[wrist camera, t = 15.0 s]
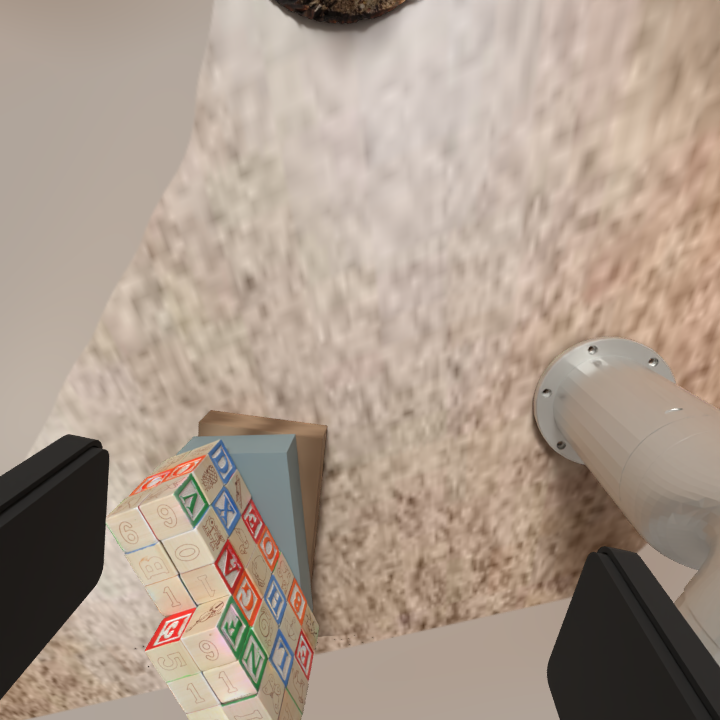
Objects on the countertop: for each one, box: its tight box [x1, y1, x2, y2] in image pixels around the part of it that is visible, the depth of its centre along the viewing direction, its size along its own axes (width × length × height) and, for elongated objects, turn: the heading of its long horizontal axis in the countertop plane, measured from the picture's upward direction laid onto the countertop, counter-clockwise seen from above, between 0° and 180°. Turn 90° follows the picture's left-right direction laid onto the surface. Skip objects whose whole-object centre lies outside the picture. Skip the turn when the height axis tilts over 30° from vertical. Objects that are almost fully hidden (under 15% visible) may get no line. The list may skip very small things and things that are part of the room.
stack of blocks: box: [106, 439, 319, 720], centre depth 41 cm, size 21×6×12 cm, turn 23°
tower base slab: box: [198, 410, 327, 584], centre depth 52 cm, size 12×22×4 cm, turn 174°
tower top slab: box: [176, 434, 313, 612], centre depth 48 cm, size 10×20×4 cm, turn 3°
